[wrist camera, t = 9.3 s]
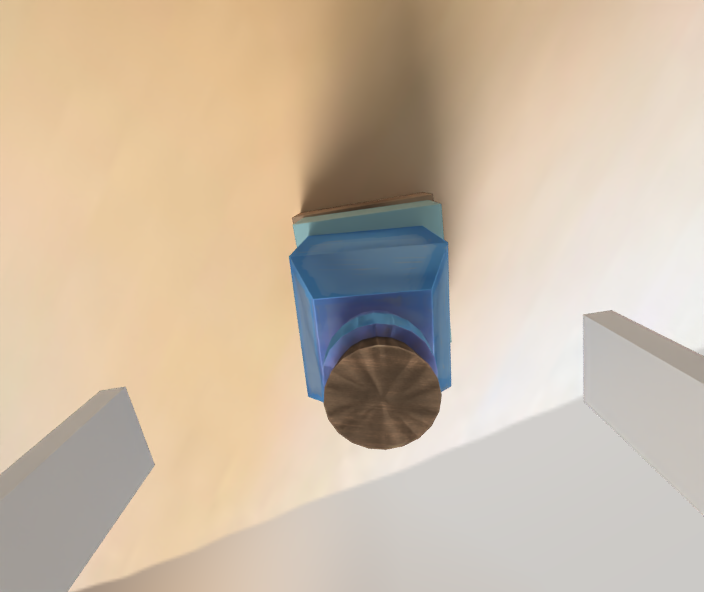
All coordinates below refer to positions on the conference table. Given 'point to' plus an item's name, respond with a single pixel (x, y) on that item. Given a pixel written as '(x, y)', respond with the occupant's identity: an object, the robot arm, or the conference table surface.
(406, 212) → the teal slab
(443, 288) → the perfume bottle
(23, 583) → the robot arm
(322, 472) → the conference table surface
